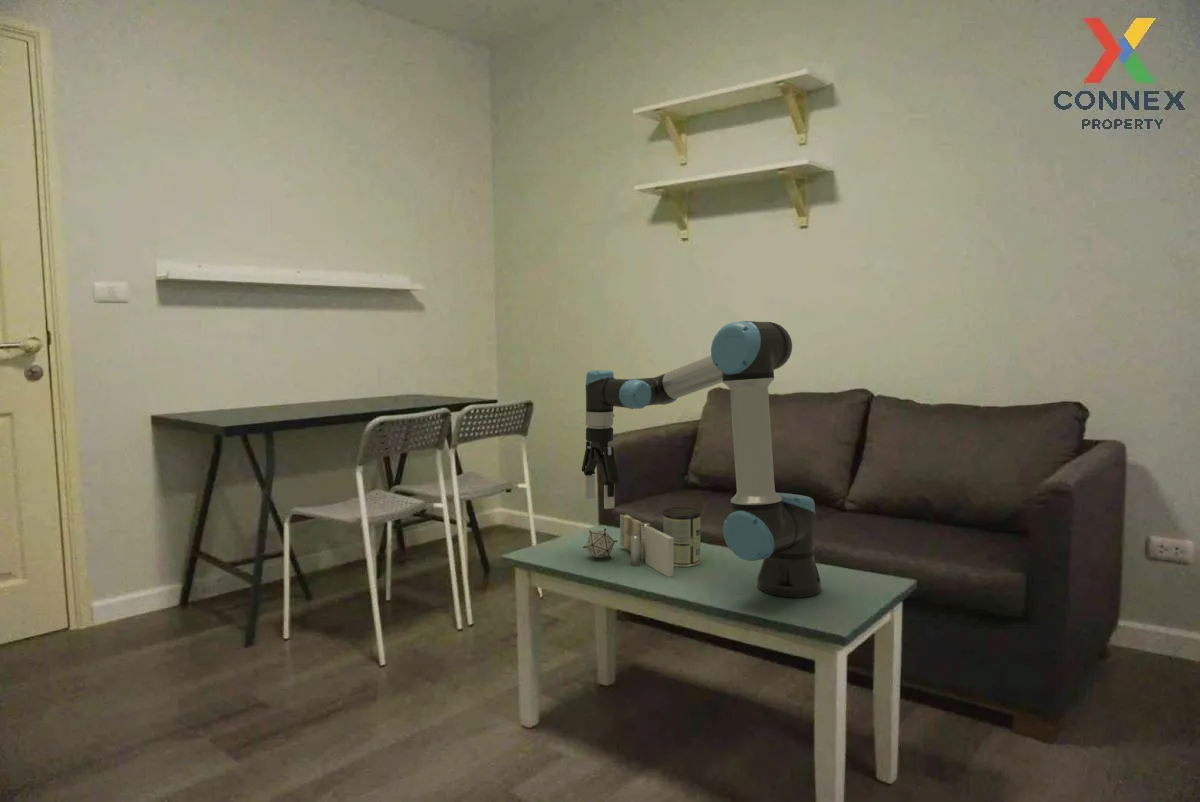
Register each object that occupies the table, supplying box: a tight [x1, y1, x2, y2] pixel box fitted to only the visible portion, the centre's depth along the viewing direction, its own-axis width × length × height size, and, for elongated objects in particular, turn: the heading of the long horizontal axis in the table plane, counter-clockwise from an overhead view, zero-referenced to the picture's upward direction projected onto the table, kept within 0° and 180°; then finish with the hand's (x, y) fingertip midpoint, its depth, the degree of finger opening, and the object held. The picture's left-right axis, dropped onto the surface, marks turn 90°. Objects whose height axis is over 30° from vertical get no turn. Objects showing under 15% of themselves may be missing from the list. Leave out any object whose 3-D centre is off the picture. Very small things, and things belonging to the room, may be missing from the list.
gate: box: [619, 513, 643, 558], centre depth 217 cm, size 13×2×9 cm, turn 23°
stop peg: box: [630, 534, 641, 567], centre depth 207 cm, size 2×2×8 cm
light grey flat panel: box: [644, 526, 674, 578], centre depth 203 cm, size 13×2×10 cm, turn 23°
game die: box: [582, 527, 618, 561], centre depth 214 cm, size 9×8×10 cm
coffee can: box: [662, 506, 702, 568], centre depth 210 cm, size 10×10×14 cm
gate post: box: [640, 522, 651, 564], centre depth 210 cm, size 2×2×10 cm
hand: (599, 503), depth 213 cm, fingers open, 13 cm apart
